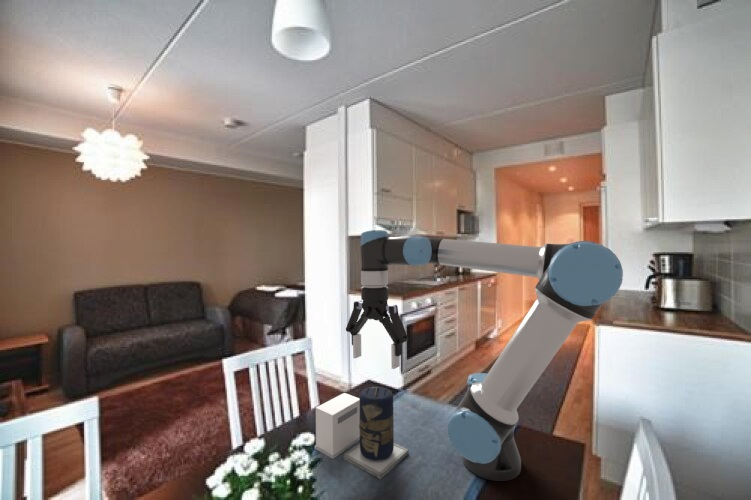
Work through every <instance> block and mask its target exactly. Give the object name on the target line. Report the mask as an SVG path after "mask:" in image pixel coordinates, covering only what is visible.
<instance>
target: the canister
mask: <svg viewBox="0 0 751 500" xmlns="http://www.w3.org/2000/svg"><path fill="white" fill-rule="evenodd" d="M359 398H360V423H359V429H360V440H359V443H360V451H361V453H362V455H363V456H364V457H366V458H367V459H370V460H383V459H386V458H388V457H389V456H390V455H391V454H392V452H393V449H394V443H395V441H394V438H395V437H394V434H395V433H394V432H395V431H394V424H395V423H394V394H393V392H392V391H391V390H390V389H388V388H386V387H384V386H383V387H382V386H371V387H370V386H369V387H366V388H364V389H363V390H362V391H360V394H359Z"/></svg>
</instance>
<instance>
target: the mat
mask: <svg viewBox="0 0 751 500" xmlns="http://www.w3.org/2000/svg"><path fill="white" fill-rule="evenodd" d="M409 452H410V451H409V448H406V447H403V446H401V445H399V444H397V443H395V442H394V449H393V452H392V454H391V455H390V456H389V457H388V458H386V459H383V460H370V459H367V458H366V457H364V456H363V455H362V453H361V451H360V442H359V443H358V444H356V445H355V446H354V447H352V448H350V449H349V450H348V451H346V452H345V453H344V454H343V455H342V457H343V460H344V461H346V462H349V464H352V465H354V466H356V467H357V468H359V469H361V470H363V471H365V472H366V473H368V474H369V475H372V476H374V477H375V478H377V479H379V480H382V479H383V478H384V477H385V476H386V475H387V474H389V472H390V471H391V470H393V469H394V468H395V467H396V466H397V465H398V463H400V462H401V461H402V460H403V459H404V458H405V457H406V456H407V455H408V454H409Z"/></svg>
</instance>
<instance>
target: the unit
mask: <svg viewBox="0 0 751 500" xmlns="http://www.w3.org/2000/svg"><path fill="white" fill-rule="evenodd" d="M359 423H360V397H357V396H354V395H351V394H349V393H345V392H344V393H341V394H339V395H337V396H335V397H334V398H331V399H329V400H328V401H326V402H324V403H322V404H320V405H318V406H316V407H315V445H314V450H316V451H318V452H320V453H322V454H323V455H325V456H327V457H329V458H330V459H333V460H334V459H335V458H336V457H338V456H339V455H341V454H342V453H344V452H345V451H347V450H348V449H349V448H351V447H352V446H354V445H355V444H357V443H358V442H360V429H359Z"/></svg>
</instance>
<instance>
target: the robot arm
mask: <svg viewBox="0 0 751 500" xmlns="http://www.w3.org/2000/svg"><path fill="white" fill-rule="evenodd" d="M359 247H360V263H361V264H360V266H361V267H360V268H361V269H360V285H361V287H360V293H361V295H360V296H361V299H360V300H356V301H354V302H353V309H352V311H351V314H350V316H349V319H348V323H347V325H346V326H345V331H346V332H349V333H350V335H351V346H352V350H353V352H352V357H353V359H357V358H360V357H362V333H360V332H361V330H362V329H363V328H364V326H365V324H366V323H367V322H368V320H374V321H379V323H380V324H382V326H383V327H384V329H385V330H386V333H387V334H388V335H389V338H390V339H391V340H392V342H393V343H391V344H390V345H391V348H390V349H391V350H390V353H391V356H390V357H391V360H390V361H391V369H392V370H396V369H398V368H399V367H400V365H401V364H400V361H401V358H400V357H401V356H402V353H403V348H402V347H403V344H404V343H406V342H408V341H409V336H408V334H407V331H406V329H405V326H404V324H403V321H402V319H401V317H400V313H399V309H398V308H399V307H398V305H397V304H392V305H389V304H388V300H389V287H388V286H387V285H388V284H389V266H390V265H391V266H392V265H393V266H395V265H396V266H397V265H398V266H412V267H416V266H418V267H419V266H426V265H428V264H431V265H441V266H450V267H456V268H464V269H471V270H480V271H488V272H494V273H500V274H501V273H502V274H510V275H517V276H525V277H531V278H536V279H538V280H539V281H538V282H537V283H536V285H535V286H534V290H535V294H536V299H535V301H534V302H533V304H532V306H531V307H530V309H529V310H528V312H527V313H526V315H525V316H524V318H523V320H522V321H521V323H520V324H519V325H518V327H517V328H516V329H515V331H514V333H513V335H512V336H511V337H510V339H509V340H508V342H507V344H506V345H505V346H504V348H503V350H502V351H501V353H500V355H499V356H498V357H497V359H496V361H495V362H494V363H493V365H492V366H491V368H490V370H488V372H487V373H486V372H477V373H472V374H469V376H468V377H467V382H466V384H467V392H466V393H465V394H464V396H463V398H462V399H461V401H460V402H459V404H458V405H457V407H456V408H455V410H454V411H453V412H452V413H451V414H450V415H449V419H448V422H447V425H446V427H447V429H446V431H447V435H448V438H449V441H450V443H451V445H452V447H453V448H454V450H455V451H456V452H458V454H459V455H461V461H462V463H463V464H464V466H465V467H466V468H467V470H469V471H470V473H472V474H475V475H476V476H477V477H480V478H483V479H484V480H485V479H486V480H489V481H493V482H505V481H511V480H513V479H516V478H517V477H518V476H519V475H520V473H521V472H522V459H521V456H520V452H519V450H518V446H517V443H516V441H515V438H514V437H515V436H514V430H515V429H514V427H516V425H517V423H518V422H519V413H518V411H517V409H518V408H519V406H520V405H521V404H522V402H523V401H524V399H525V398H526V397H527V395H528V393H529V392H530V391H531V389H532V388H533V386H534V385H536V383H537V381H538V380H539V378H540V377H541V375H542V374H543V373H544V372H545V370H546V368H547V367H548V366H549V364H550V363H551V362H552V360H553V358H554V357H555V355H556V354H557V353H558V352H559V350H560V349H561V347H562V346H563V345H564V344H565V342H566V341H567V339H568V338H569V337H570V335H571V334H572V333H573V331H574V329H575V328H576V326H577V325H578V324H579V323H581V322H588V321H592V320H593V318H594V317H595V315H596V314H597V313H598V311H599V310H600V309H601V308H602V306H603V305H604V303H606V302H608V301H609V300H611V299H612V297H614V296H616V295H617V293H618V291H619V290H620V289H621V286H622V284H623V278H624V270H623V266H622V263H621V260H620V259H619V258H618V256H617V254H615V253H614V252H613V251H612V250H611V249H610V248H608V247H606V246H605V245H603V244H600V243H597V242H594V241H588V240H587V241H586V240H579V241H575V242H571V243H561V244H560V243H559V244H558V243H557V244H556V243H545V244H542V246H532V245H531V246H530V245H521V244H510V243H509V244H506V243H498V242H497V243H495V242H484V241H476V240H475V241H473V240H461V239H460V240H459V239H451V238H450V239H449V238H438V237H430V236H420V235H411V236H394V237H393V236H389V234H388V231H387V230H386V229H385V230H384V229H369V230H363V231H362V232H361V235H360V245H359ZM362 310H363V311H362Z"/></svg>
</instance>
